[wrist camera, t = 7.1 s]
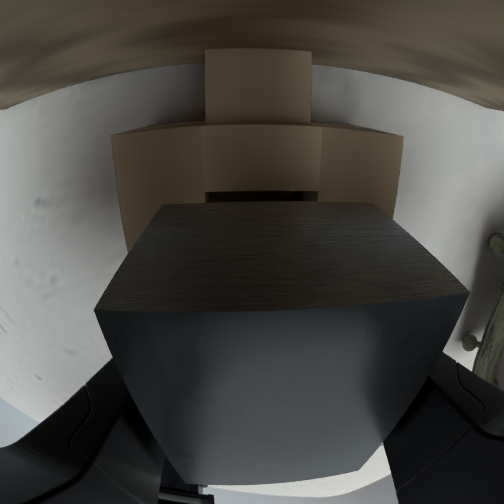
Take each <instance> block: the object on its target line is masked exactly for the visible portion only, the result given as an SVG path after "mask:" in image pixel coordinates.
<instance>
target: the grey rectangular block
mask: <svg viewBox="0 0 504 504" xmlns="http://www.w3.org/2000/svg"><path fill="white" fill-rule="evenodd" d="M469 293H470V292H469V291H468V290H467V289H466V288H465V287H464V285H463V284H462V283H461V282H460V281H459V280H458V279H457V278H456V277H455V276H454V275H453V274H452V273H451V272H450V271H449V270H448V269H447V268H446V267H445V266H444V265H442V264H441V263H440V262H439V261H438V260H437V259H436V258H435V257H434V256H433V255H432V254H431V253H430V252H429V251H428V250H427V249H425V248H424V247H423V246H422V245H421V244H420V243H419V242H418V241H417V240H416V239H414V238H413V237H412V236H411V235H410V234H409V233H408V232H406V231H405V230H404V229H403V228H402V227H401V226H400V225H398V224H397V223H396V222H395V221H394V220H392V219H391V218H390V217H389V216H388V215H386V214H385V213H384V212H383V211H382V210H380V209H379V208H378V207H377V206H375V205H374V204H373V203H360V202H316V201H294V200H293V199H262V200H224V202H213V203H187V204H166V205H161V207H160V208H159V210H158V211H157V212H156V214H155V215H154V217H153V218H152V219H151V221H150V222H149V224H148V225H147V227H146V228H145V229H144V231H143V232H142V234H141V235H140V237H139V238H138V240H137V241H136V243H135V244H134V246H133V247H132V249H131V250H130V252H129V253H128V255H127V256H126V258H125V259H124V261H123V262H122V264H121V266H120V267H119V269H118V270H117V272H116V273H115V275H114V277H113V278H112V280H111V282H110V283H109V285H108V286H107V288H106V290H105V291H104V293H103V295H102V296H101V298H100V300H99V302H98V303H97V305H96V307H95V309H94V312H95V314H96V317H97V320H98V322H99V325H100V328H101V330H102V333H103V335H104V338H105V340H106V342H107V345H108V347H109V350H110V352H111V354H112V356H113V359H114V361H115V363H116V365H117V368H118V370H119V372H120V374H121V376H122V378H123V380H124V382H125V384H126V386H127V388H128V390H129V392H130V394H131V396H132V398H133V400H134V402H135V404H136V406H137V408H138V409H139V411H140V413H141V415H142V417H143V418H144V420H145V422H146V424H147V425H148V427H149V429H150V431H151V432H152V434H153V436H154V437H155V439H156V441H157V442H158V444H159V445H160V447H161V449H162V450H163V452H164V453H165V455H166V456H167V458H168V459H169V461H170V462H171V464H172V465H173V467H174V468H175V470H176V471H177V473H178V474H179V475H180V477H181V478H182V480H183V481H184V482H185V483H188V484H204V485H257V484H273V483H285V482H294V481H302V480H310V479H316V478H323V477H328V476H334V475H339V474H344V473H349V472H353V471H358V470H359V469H360V468H361V467H362V466H363V465H364V464H365V463H366V462H367V460H368V459H369V458H370V457H371V456H372V455H373V453H374V452H375V451H376V450H377V449H378V447H379V446H380V445H381V444H382V442H383V441H384V440H385V439H386V437H387V436H388V435H389V434H390V432H391V431H392V430H393V428H394V427H395V426H396V424H397V423H398V421H399V420H400V419H401V417H402V416H403V415H404V413H405V412H406V410H407V409H408V407H409V406H410V404H411V403H412V401H413V400H414V398H415V397H416V395H417V394H418V392H419V391H420V389H421V387H422V386H423V384H424V383H425V381H426V379H427V378H428V376H429V374H430V373H431V371H432V369H433V367H434V366H435V364H436V362H437V360H438V359H439V357H440V355H441V353H442V351H443V349H444V347H445V345H446V344H447V342H448V340H449V338H450V336H451V334H452V332H453V329H454V327H455V325H456V323H457V321H458V319H459V317H460V314H461V312H462V310H463V308H464V305H465V303H466V301H467V298H468V296H469Z"/></svg>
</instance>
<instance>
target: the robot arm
mask: <svg viewBox="0 0 504 504" xmlns="http://www.w3.org/2000/svg"><path fill="white" fill-rule="evenodd" d="M383 445H384V448H385V452H386V456H387V459H388V463H389V466H390V470H391V474H392V478H393V482H394V486H395V489H396V494H397V498H398V502H399V504H504V391H503V390H501V389H500V388H498V387H496V386H494V385H493V384H491V383H489V382H487V381H486V380H484V379H482V378H481V377H479V376H478V375H476V374H475V373H473V372H472V371H470V370H468V369H467V368H465V367H464V366H463V365H461V364H460V363H458V362H457V363H456V361H455V360H454V359H452V358H451V357H449V356H448V355H446V354H445V353H444V352H442V353H441V355H440V357H439V359H438V360H437V362H436V364H435V366H434V367H433V369H432V371H431V373H430V374H429V376H428V378H427V379H426V381H425V383H424V384H423V386H422V387H421V389H420V391H419V392H418V394H417V395H416V397H415V398H414V400H413V401H412V403H411V404H410V406H409V407H408V409H407V410H406V412H405V413H404V415H403V416H402V417H401V419H400V420H399V421H398V423H397V424H396V426H395V427H394V428H393V430H392V431H391V432H390V434H389V435H388V436H387V437H386V439H385V440H384V441H383ZM207 486H208V485H204V484H188V483H185V482H184V481H183V480H182V478H181V477H180V475H179V474H178V473H177V471H176V470H175V468H174V467H173V465H172V464H171V462H170V461H169V459H168V458H167V456H166V455H165V453H164V452H163V450H162V449H161V447H160V445H159V444H158V442H157V441H156V439H155V437H154V436H153V434H152V432H151V431H150V429H149V427H148V425H147V424H146V422H145V420H144V418H143V417H142V415H141V413H140V411H139V409H138V408H137V406H136V404H135V402H134V400H133V398H132V396H131V394H130V392H129V390H128V388H127V386H126V384H125V382H124V380H123V378H122V376H121V374H120V372H119V370H118V368H117V365H116V363H115V361H114V359H113V358H112V359H111V360H110V361H108V362H107V363H106V364H105V365H104V366H103V367H102V368H101V369H100V370H99V371H98V372H97V373H96V374H95V375H94V376H93V377H92V378H91V379H90V380H89V381H88V382H87V383H86V386H85V385H84V386H82V387H81V388H80V389H79V390H78V391H77V392H76V393H75V394H74V395H73V396H72V397H71V398H70V399H69V400H68V401H67V402H65V403H64V404H63V405H62V406H61V407H60V408H58V409H57V410H56V411H55V412H54V413H52V414H51V415H50V416H49V417H48V418H46V419H45V420H44V421H42V422H41V423H40V424H39V425H37V426H36V427H35V428H34V429H32V430H31V431H30V432H29V433H27V434H26V435H25V436H24V437H22V438H21V439H19V440H18V441H17V442H15V443H13V444H11V445H9V446H6V447H2V448H0V504H214V495H211V494H208V495H204V494H202V493H203V490H202V489H203V487H207Z"/></svg>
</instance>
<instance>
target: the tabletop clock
mask: <svg viewBox="0 0 504 504" xmlns="http://www.w3.org/2000/svg"><path fill="white" fill-rule="evenodd" d="M489 247H490V249H491V250H492V252H493V253H495V254H498V255H499V254H502V253H503V254H504V235H503V234H501V233H495V234H493V235H492V236H491V238H490V240H489ZM462 346H463V348H464V349H465V350H466V351H472V350H474V349H475V347H478V348H479V349H478V352H477V355H476V358H475V361H474V365H473V370H472V372H473V373H475V374H476V375H478V376H479V377H481V378H482V379H484V380H486V381H487V382H489V383H491V384H493V385H494V386H496V387H498V388H500V389H501V390H503V391H504V283H503V286H502V288H501V291H500V293H499V296H498V298H497V301H496V303H495V306H494V308H493V311H492V313H491V316H490V318H489V320H488V322H487V325H486V328H485V331H484V334H483V337H482V340H481V342H479V341H477V339H476V337H475V336H474V335H467V336H466V337H465V338H464V339H463V342H462Z"/></svg>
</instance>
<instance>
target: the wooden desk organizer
mask: <svg viewBox="0 0 504 504" xmlns="http://www.w3.org/2000/svg"><path fill="white" fill-rule="evenodd" d="M199 62H205V118H206V121H194V122H180V123H169V124H159V125H151V126H146V127H142V128H138V129H134V130H130V131H126V132H122V133H119V134H115V135H111V137H112V148H113V159H114V168H115V176H116V184H117V192H118V199H119V205H120V212H121V218H122V223H123V229H124V235H125V240H126V245H127V250H128V253H129V252H130V250H131V249H132V247H133V246H134V244H135V243H136V241H137V240H138V238H139V237H140V235H141V234H142V232H143V231H144V229H145V228H146V227H147V225H148V224H149V222H150V221H151V219H152V218H153V217H154V215H155V214H156V212H157V211H158V210H159V208H160V207H161V205H166V204H187V203H213V202H224V200H262V199H293V200H294V201H316V202H360V203H373V204H374V205H375V206H377V207H378V208H379V209H380V210H382V211H383V212H384V213H385V214H386V215H388V216H389V217H390V218H391V219H393V214H394V208H395V202H396V195H397V189H398V181H399V174H400V166H401V157H402V147H403V136H399V135H395V134H391V133H387V132H382V131H378V130H374V129H369V128H365V127H360V126H355V125H347V124H337V123H325V122H311V70H312V64H317V65H326V66H333V67H341V68H347V69H353V70H359V71H365V72H370V73H375V74H380V75H385V76H389V77H393V78H398V79H402V80H406V81H409V82H413V83H417V84H420V85H424V86H427V87H431V88H434V89H437V90H440V91H443V92H446V93H449V94H452V95H455V96H458V97H460V98H463V99H466V100H468V101H471V102H474V103H476V104H479V105H481V106H483V107H486V108H490V109H495V110H501V111H504V0H0V110H3V109H7V108H9V107H12V106H14V105H16V104H19V103H21V102H24V101H26V100H29V99H32V98H34V97H37V96H40V95H43V94H45V93H48V92H51V91H54V90H58V89H61V88H64V87H67V86H71V85H74V84H78V83H81V82H85V81H89V80H93V79H97V78H101V77H105V76H110V75H114V74H119V73H124V72H129V71H135V70H141V69H147V68H153V67H161V66H168V65H177V64H187V63H199Z"/></svg>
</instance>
